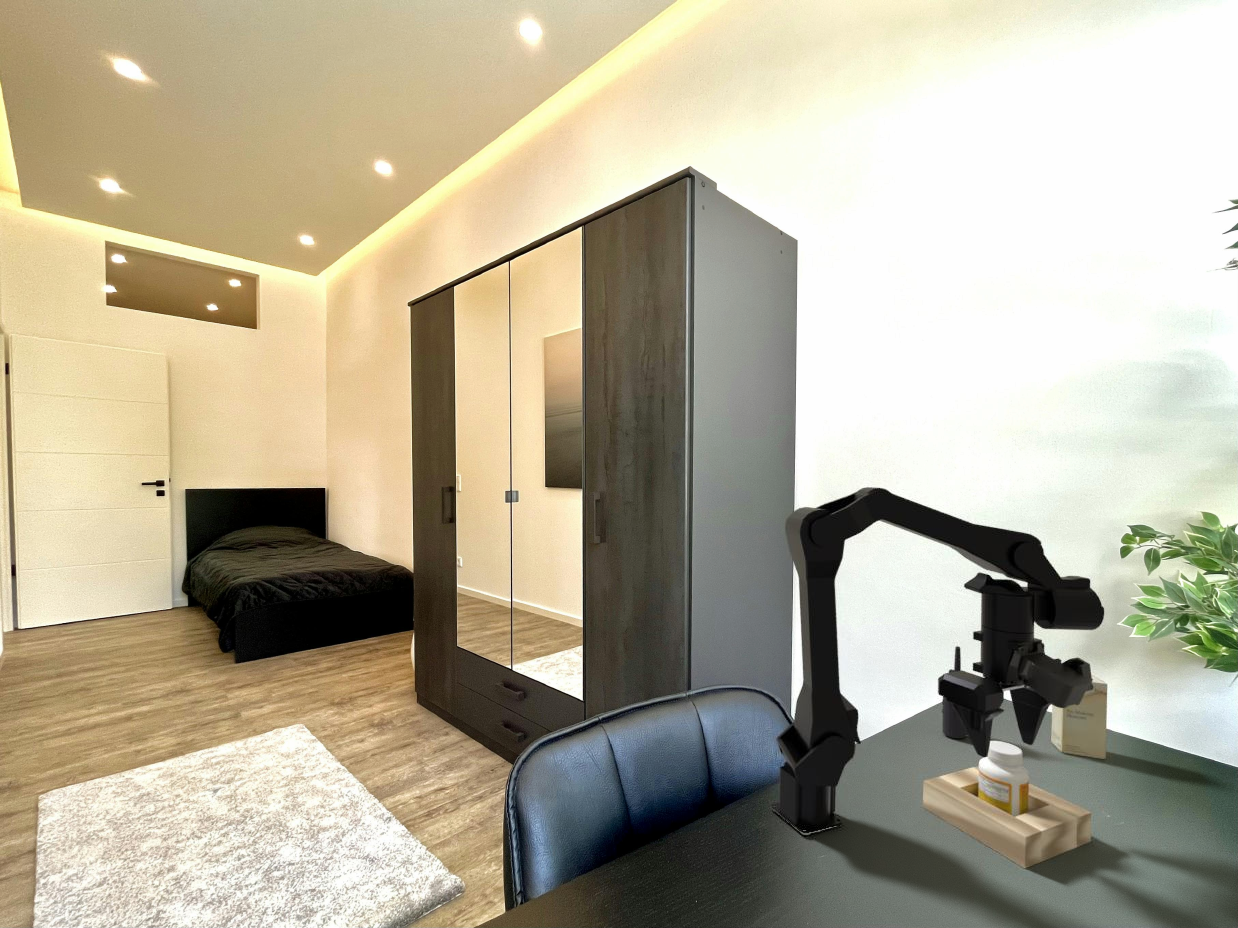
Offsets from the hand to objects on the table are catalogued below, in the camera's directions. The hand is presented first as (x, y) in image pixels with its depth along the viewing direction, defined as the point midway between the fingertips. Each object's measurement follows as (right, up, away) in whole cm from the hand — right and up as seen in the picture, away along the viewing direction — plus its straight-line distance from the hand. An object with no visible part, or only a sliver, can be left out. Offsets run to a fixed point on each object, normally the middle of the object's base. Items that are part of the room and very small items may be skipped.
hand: (1005, 749), depth 75 cm
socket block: (0, -9, 0) cm, 9 cm away
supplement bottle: (0, -10, 0) cm, 10 cm away
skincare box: (+26, -11, +21) cm, 35 cm away
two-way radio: (+9, -10, +26) cm, 29 cm away
